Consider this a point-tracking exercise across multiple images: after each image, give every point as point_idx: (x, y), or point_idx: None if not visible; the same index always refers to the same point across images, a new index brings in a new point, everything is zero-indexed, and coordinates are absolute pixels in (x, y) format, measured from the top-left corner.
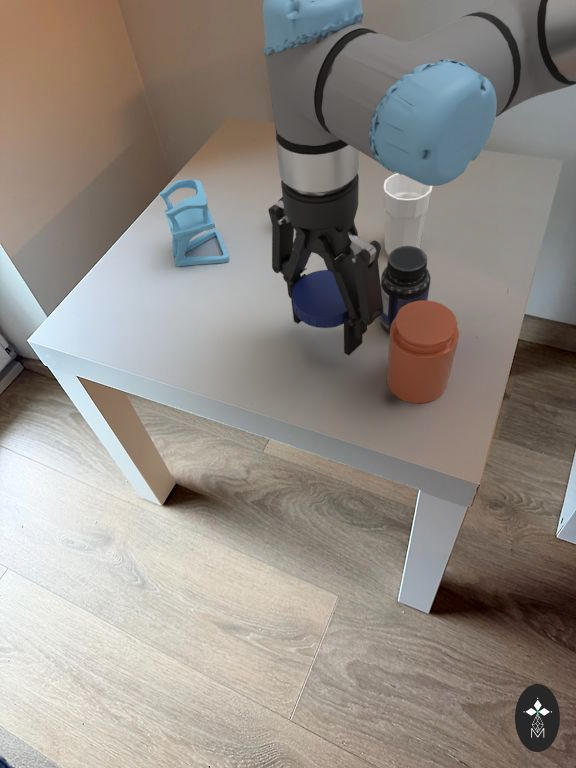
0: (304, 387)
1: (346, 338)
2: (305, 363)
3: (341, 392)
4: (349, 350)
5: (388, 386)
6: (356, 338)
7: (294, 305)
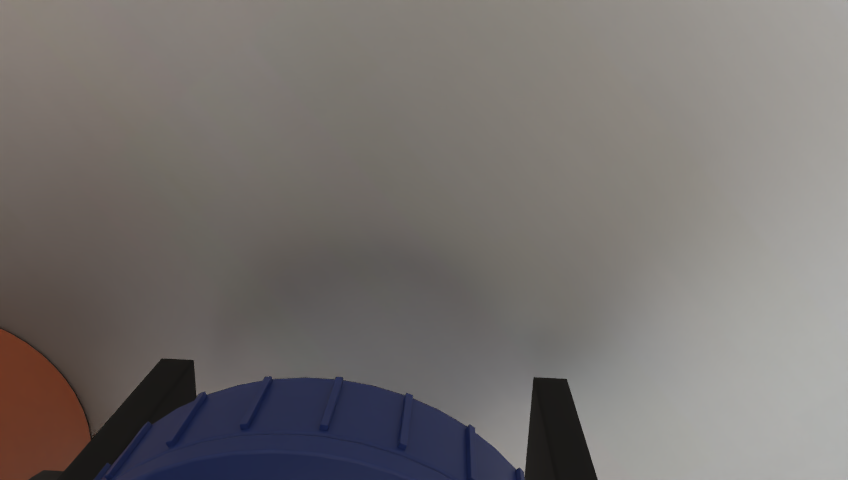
0: (299, 103)
1: (115, 434)
2: (397, 222)
3: (143, 189)
4: (144, 383)
5: (7, 335)
6: None
7: (440, 467)
